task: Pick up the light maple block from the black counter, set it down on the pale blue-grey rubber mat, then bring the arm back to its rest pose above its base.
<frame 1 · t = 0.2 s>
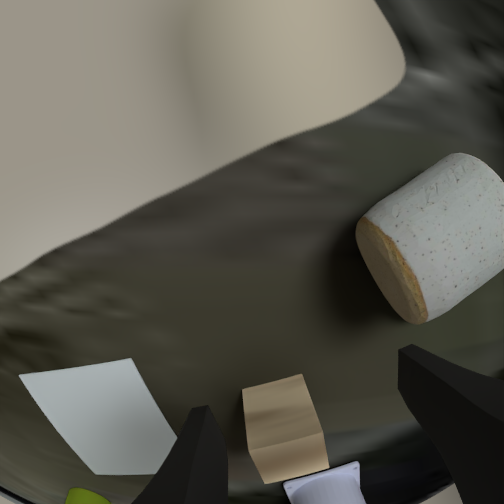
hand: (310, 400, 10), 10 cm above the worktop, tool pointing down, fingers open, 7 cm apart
blue-grey mat: (107, 430, 22), on the worktop
ceramic mug: (413, 239, 20), on the worktop
soap dispenser: (90, 496, 26), on the worktop
maple block: (278, 402, 22), on the worktop
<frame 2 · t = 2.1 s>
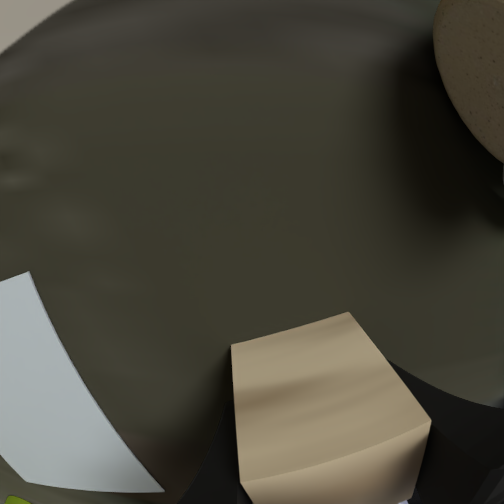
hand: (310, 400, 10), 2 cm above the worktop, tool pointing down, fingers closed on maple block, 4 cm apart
blue-grey mat: (19, 415, 12), on the worktop
ceramic mug: (499, 98, 10), on the worktop
maple block: (301, 374, 12), on the worktop, touching gripper
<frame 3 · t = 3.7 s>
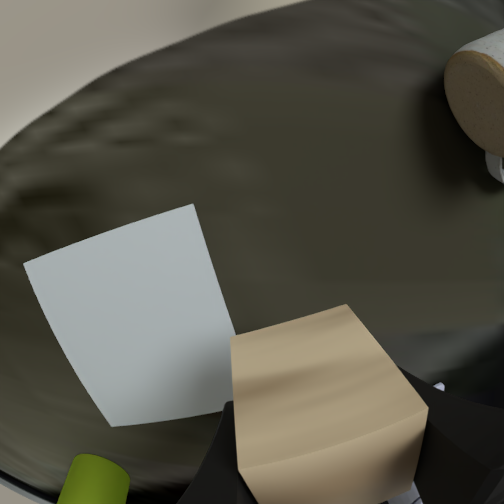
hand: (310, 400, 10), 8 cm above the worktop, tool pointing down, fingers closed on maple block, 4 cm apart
blue-grey mat: (138, 340, 19), on the worktop
ceramic mug: (484, 110, 16), on the worktop
soap dispenser: (101, 467, 22), on the worktop
maple block: (299, 367, 12), point 7 cm above the worktop, touching gripper
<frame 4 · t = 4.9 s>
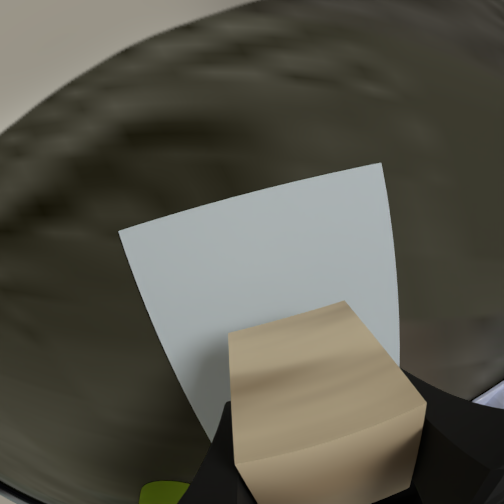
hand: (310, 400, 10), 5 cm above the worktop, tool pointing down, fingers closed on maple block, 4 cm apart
blue-grey mat: (287, 334, 15), on the worktop
soap dispenser: (178, 493, 19), on the worktop
maple block: (298, 363, 12), point 3 cm above the worktop, touching gripper
when the fingers open (3 cm above the worktop, at t = 5.7 s): maple block drops 1 cm, resting on blue-grey mat.
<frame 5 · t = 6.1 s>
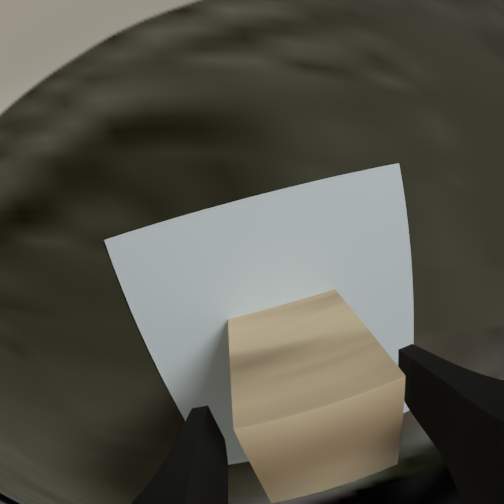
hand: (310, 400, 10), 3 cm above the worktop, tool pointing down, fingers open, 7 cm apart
blue-grey mat: (293, 353, 13), on the worktop
maple block: (292, 348, 13), resting on blue-grey mat
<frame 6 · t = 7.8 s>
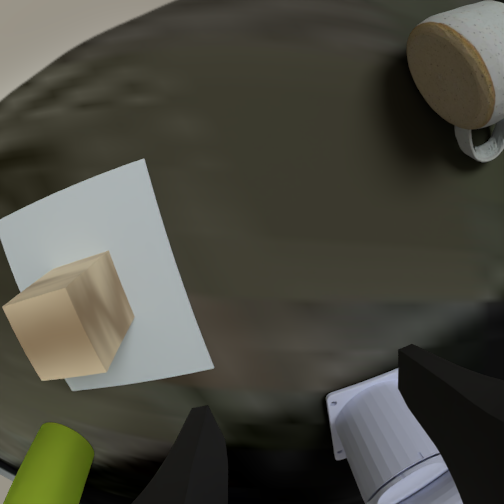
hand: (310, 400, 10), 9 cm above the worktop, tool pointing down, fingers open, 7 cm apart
blue-grey mat: (94, 296, 18), on the worktop
ceramic mug: (455, 88, 17), on the worktop
soap dispenser: (67, 438, 22), on the worktop
maple block: (92, 292, 18), resting on blue-grey mat
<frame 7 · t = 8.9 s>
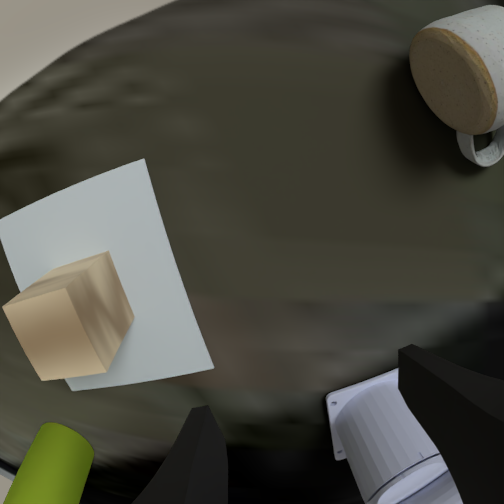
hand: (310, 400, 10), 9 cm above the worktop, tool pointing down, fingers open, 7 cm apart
blue-grey mat: (94, 296, 18), on the worktop
ceramic mug: (457, 92, 17), on the worktop
soap dispenser: (67, 438, 22), on the worktop
maple block: (92, 292, 18), resting on blue-grey mat
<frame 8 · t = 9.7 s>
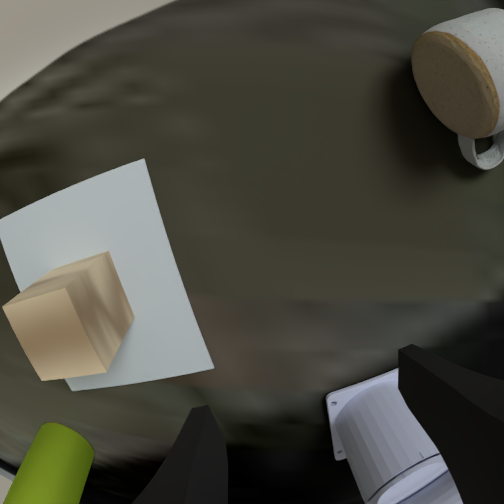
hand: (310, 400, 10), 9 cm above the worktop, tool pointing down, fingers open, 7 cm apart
blue-grey mat: (94, 296, 18), on the worktop
ceramic mug: (458, 95, 17), on the worktop
soap dispenser: (67, 438, 22), on the worktop
maple block: (92, 292, 18), resting on blue-grey mat
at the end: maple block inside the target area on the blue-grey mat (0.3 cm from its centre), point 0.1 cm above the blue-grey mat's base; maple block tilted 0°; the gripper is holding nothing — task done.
